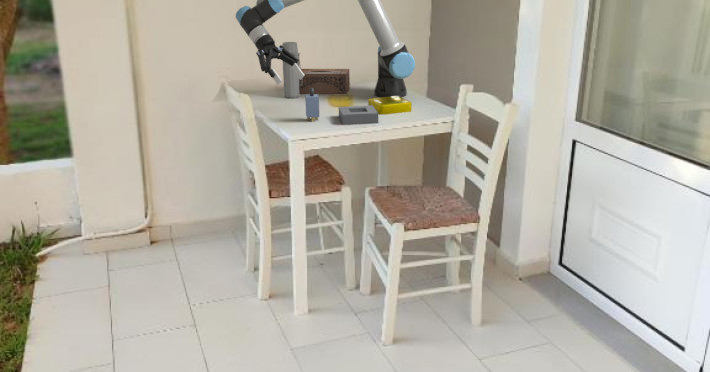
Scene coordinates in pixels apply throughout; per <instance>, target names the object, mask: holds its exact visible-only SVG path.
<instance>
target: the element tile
mask: <svg viewBox="0 0 710 372" xmlns="http://www.w3.org/2000/svg"><path fill="white" fill-rule="evenodd" d="M367 100H368V101H367V103H368V104H367V106H370V105H372V106H373V107H374V108H375V109H376V111H377V112H378V115H381V116H382V115H383V116H384V115H391V114H392V115H395V114H401V113H402V114H403V112H404V113H411V112H412V109H413V108H412V104H413V103H412V101H410V100H409V99H406V98H404V97H399V96H391V97H372V98H368V99H367Z"/></svg>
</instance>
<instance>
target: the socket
mask: <svg viewBox="0 0 710 372" xmlns="http://www.w3.org/2000/svg"><path fill="white" fill-rule="evenodd" d="M338 118H339V120H340V122H341V124H342V125H343V126H346V125H347V126H349V125H367V124H370V125H371V124H379V114H378V112H377V111H376V109H375V108H374V107H373V106H372V105H370V106H368V105H351V106H338Z"/></svg>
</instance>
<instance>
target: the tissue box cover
mask: <svg viewBox="0 0 710 372" xmlns="http://www.w3.org/2000/svg"><path fill="white" fill-rule="evenodd" d="M301 71H302V72H303V74H304V75H305V76H304V77H303V78H302V79H301V80H300V79H299V84H300V85H301V83H302V86H300V85H299V94H300V95H309V94H310V88H314V94H318V95H325V96H326V95H330V96H331V95H333V96H334V94H346V95H347V94H348V93H349V91H350V88H351V87H350V85H351V84H350V81H351V80H350V79H351V78H350V77H351V76H350V68H301ZM302 80H303V82H302Z"/></svg>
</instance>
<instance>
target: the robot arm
mask: <svg viewBox="0 0 710 372" xmlns="http://www.w3.org/2000/svg"><path fill="white" fill-rule="evenodd" d="M301 2H305V0H256V4H255V6H253V7H251V6H249V5H245V6H242V7H240V8H238V10H237V11H236V13H235V19H236V21H237V22H238V24H239V25H240V27H241V28H242V29H243V31H244V32H245V34H246V35H247V37H249V39H250V40H251V41H252V43H253V44H254V45H255V48H256V49H257V51H256V53H255V54H256V56H257V57H258V61H259V66H260V70H261V72H264V73H265V74H268V75H269V76H270V77H271V78H272V79H273V81H274V83H275V84H276V85H277V86H279V85H280V84H281V83H282V82H283V79H281V76H280V75H279V74H278V73H277V71H276V70H275V68H274V67H272V60H273V59H277V60H281V61H282V62H283V61H284V62H286V63H287V64H289V65H291V66H292V67H291V68H292V69H293V70H294V72H295V73H296V75H297V76H298V77H299V79H300V80H301V79H302V78H303V77H304V76H305V75H304V74H303V72H302V71H301V69H302V68H301V69H300V65H299V66H298V64H297V63H298V61H299V60H300V59H299V60H298V59H297V58H296V57H294V56H293V55H292V54H291V53H289V52H288V51H287V50H286V49H285V48H284V47H283V46H282V44H280V45H279V46H276V44H275V43H276V42H275V40H274V38H273V36H271V34H270V33H269V31H268V29H267V28H266V27H265V26H264V23H266V22H267V21H268V20H270V19H271V18H273V17H275V15H277V14H279V13H280V12H281V11H283V10H284V9H285V8H288V7H291V6H293V5H296V4H299V3H301ZM357 2H358V4H359V6H360V7H361V10H362V11H363V14H364V16H365V18H366V20H367V22H368V24H369V26H370V29H371V31H372V33H373V35H374V37H375V39H376V41H377V43H378V44H379V46H378V48H377V80H376V84H375V86H374V87H375V88H374V91H373V92H374V96H376V97H377V98H381V97H391V96H399V97H402V98H404V97H405V96H407V94H408V92H407V90H408V89H407V87H406V84H405V80H404V79H406V78H409V77H410V76H411V75H412V74H413V72H414V71H415V68H416V61H415V58H414V56H413V55H412V54H411V53H409V51H408V48H407V46H406V43H405V42H404V41H400V40H399V39H400V38H399V37H398V35H397V32H396V31H395V29H394V26H393V24H392V22H391V20H390V18H389V15H388V14H387V12H386V9H385V7H384V5H383V3H382V1H381V0H357Z"/></svg>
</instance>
